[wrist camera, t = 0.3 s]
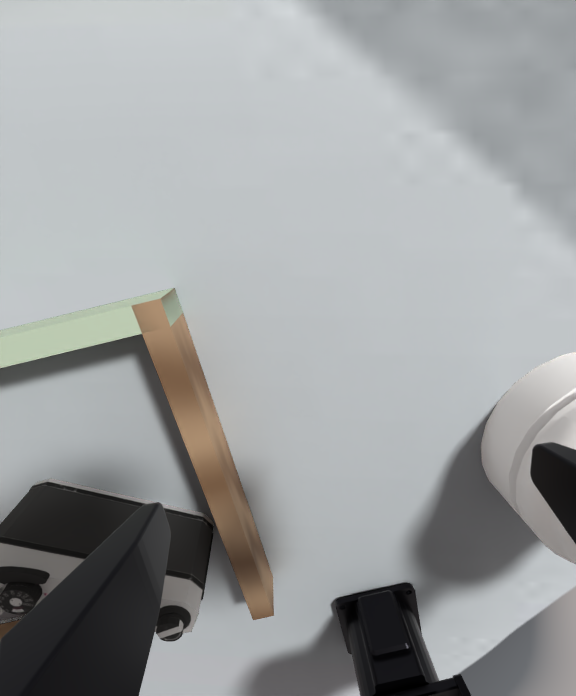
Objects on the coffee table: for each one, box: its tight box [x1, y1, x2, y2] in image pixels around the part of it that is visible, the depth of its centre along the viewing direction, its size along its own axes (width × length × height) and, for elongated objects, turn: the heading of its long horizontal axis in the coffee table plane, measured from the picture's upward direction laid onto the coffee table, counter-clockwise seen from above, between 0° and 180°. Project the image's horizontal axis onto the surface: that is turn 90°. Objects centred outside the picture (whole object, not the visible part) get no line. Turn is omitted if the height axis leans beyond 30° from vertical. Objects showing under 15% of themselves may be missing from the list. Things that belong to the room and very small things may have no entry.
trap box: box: [0, 288, 274, 640], centre depth 24 cm, size 24×26×3 cm
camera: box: [0, 478, 214, 641], centre depth 23 cm, size 13×8×9 cm, turn 73°
